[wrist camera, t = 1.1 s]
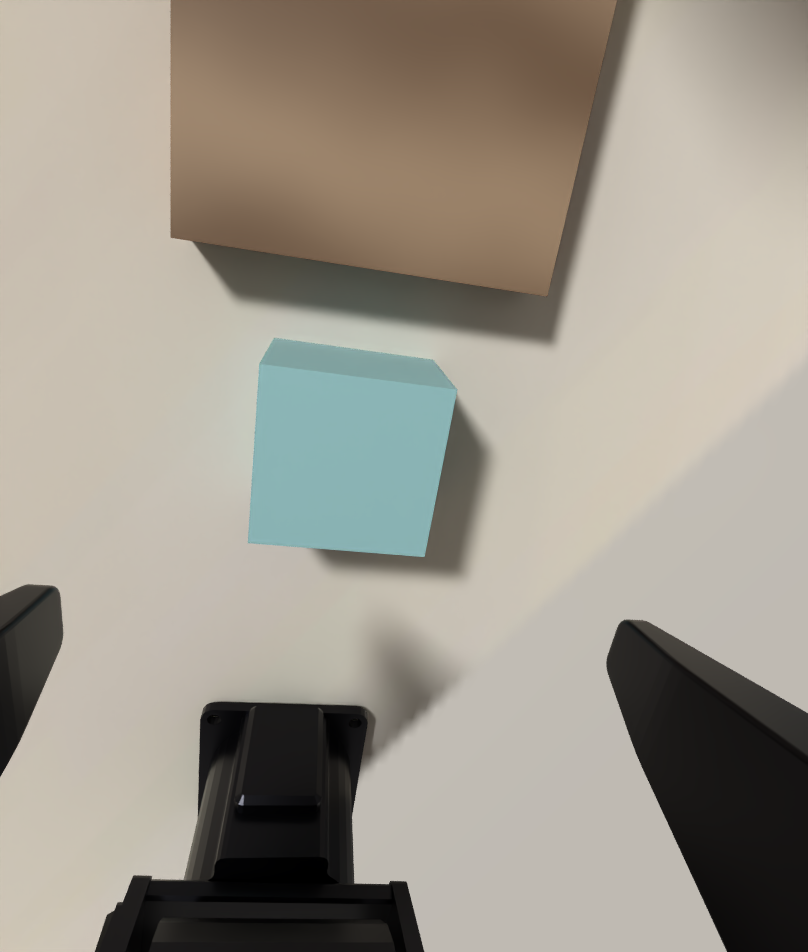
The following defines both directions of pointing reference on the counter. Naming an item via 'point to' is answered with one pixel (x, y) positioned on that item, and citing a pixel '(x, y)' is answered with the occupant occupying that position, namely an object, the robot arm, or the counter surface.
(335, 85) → the walnut base
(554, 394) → the counter surface
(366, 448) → the teal block
